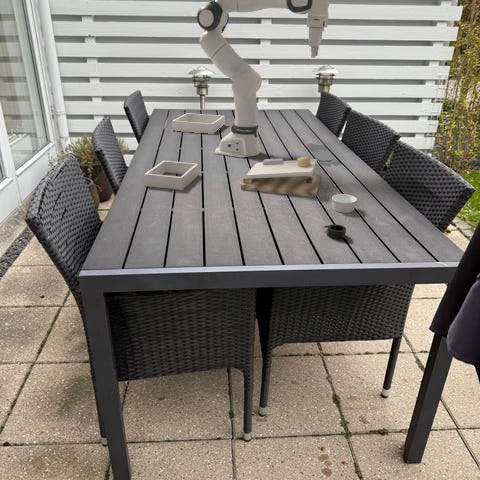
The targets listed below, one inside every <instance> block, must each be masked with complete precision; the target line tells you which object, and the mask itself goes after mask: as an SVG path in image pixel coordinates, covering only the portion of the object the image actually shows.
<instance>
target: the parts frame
mask: <svg viewBox="0 0 480 480" xmlns="http://www.w3.org/2000/svg"><path fill="white" fill-rule="evenodd" d="M199 169H200V168H199V163H193V162H192V163H191V162H183V161H173V160H172V161H171V160H162V161H161V162H160V163H158V164H156V165H154V167H152V168H151V169H149V170H148V171H147V172H145V173H144V174H143V176H144V177H143V178H144V187H150V188H151V187H153V188H161V189H171V190H177V191H183V190H184V189H185V188H186V187H187V186H189V184H191V183H192V181H194V180H195V179H196V178H197V177H198V176H199V173H200V172H199ZM166 173H169V174H175V175H176V174H179V175H181V176H175V175H166ZM164 174H165V175H164Z"/></svg>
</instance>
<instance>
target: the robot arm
mask: <svg viewBox="0 0 480 480" xmlns="http://www.w3.org/2000/svg"><path fill="white" fill-rule="evenodd" d="M330 1H331V0H210V1H208V2H207V3H205V4H204V5H202V6H201V7H200V8H199V9H198V11H197V13H196V21H197V23H198V25H199V27H200V28H201V29H203V30H204V31H203V33H202V34H201V35H200V38H199V45H200V46H201V49H202V50H203V53H205V54H206V56H207V57H208V58H209V59H210V61H211V62H212V63H213V64H214V66H215V67H217V69H218V70H219V71H220V72H221V73H222V74H223V75H225V76H226V77H228V78H229V79H230V80H231V82H232V84H231V90H232V93H233V101H234V102H233V103H234V109H235V110H234V111H235V113H234V115H235V116H234V123H232V124H231V126H230V132H229V133H227V134H226V135H225V136H223V138H221V140H220V142H219V146H218V147H216V148H215V151H214V153H215V154H216V155H221V156H227V155H228V157H235V158H246V157H254V156H258V155H259V154H260V149H259V140H258V136H259V124H258V119H259V118H258V117H259V108H258V103H257V102H258V101H257V92H258V91H259V90H260V89H261V87H262V77H261V75H260V73H258V72H257V71H256V70H255V69H254V68H253V67H252V66H251V65H250V64H248V63H247V61H245V60H244V59H243V58H242V57H241V56H240V55H239V54H238V52H236V51H235V49H234V48H233V47H232V46H231V45H230V44H229V43H228V41H227V40H226V39H225V38H224V36H223V33H224V31H225V30H226V27H227V26H228V23H229V19H230V15H229V13H253V12H257V11H262V10H267V9H281V10H282V9H286V10H289V11H291V13H293V14H296V15H306V14H307V19H306V27H307V28H308V47H310V52H311V53H310V57H311V58H312V59H313V58H314V59H315V58H316V57H317V56H318V53H319V48H320V46H321V45H322V42H323V41H322V40H323V32H324V31H325V28H328V23H329V22H328V21H329V7H330Z"/></svg>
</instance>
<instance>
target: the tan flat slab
mask: <svg viewBox="0 0 480 480" xmlns="http://www.w3.org/2000/svg"><path fill="white" fill-rule="evenodd" d="M252 168H253V166H252V167H251V168H250V170H251V169H252ZM248 173H249V171H248V172H247V173H246V174H245V176H244V177H243V181H242V182H241V184H240V190H245V191H253V192H264V193H272V194H280V193H281V194H282V195H290V194H292V195H291V196H299V195H300V196H301V197H308V196H310V197H311V198H316V197H317V194H318V191H319V188H320V185H319V184H321V181H322V175H321V174H320V175H319V174H312V175H308V176H289V177H270V178H251V179H247V174H248ZM281 194H280V195H281Z"/></svg>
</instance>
